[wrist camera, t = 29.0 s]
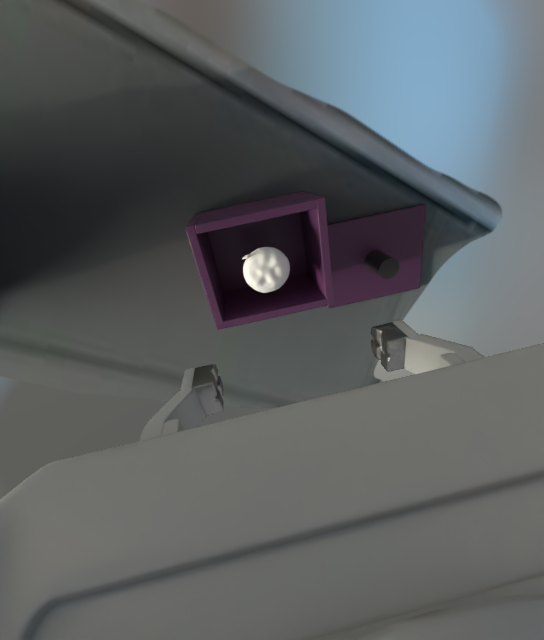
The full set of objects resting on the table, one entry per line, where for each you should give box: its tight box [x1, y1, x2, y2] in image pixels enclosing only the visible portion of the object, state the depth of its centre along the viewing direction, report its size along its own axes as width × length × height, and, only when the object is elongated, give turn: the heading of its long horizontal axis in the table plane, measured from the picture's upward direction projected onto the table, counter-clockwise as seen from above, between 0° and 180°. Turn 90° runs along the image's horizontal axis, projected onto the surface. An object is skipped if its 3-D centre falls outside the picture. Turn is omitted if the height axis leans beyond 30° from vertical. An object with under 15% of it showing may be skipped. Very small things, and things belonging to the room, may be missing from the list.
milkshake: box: [242, 234, 290, 293], centre depth 30 cm, size 4×5×10 cm
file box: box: [185, 191, 334, 330], centre depth 31 cm, size 13×11×9 cm
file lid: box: [327, 204, 426, 308], centre depth 36 cm, size 13×11×5 cm
